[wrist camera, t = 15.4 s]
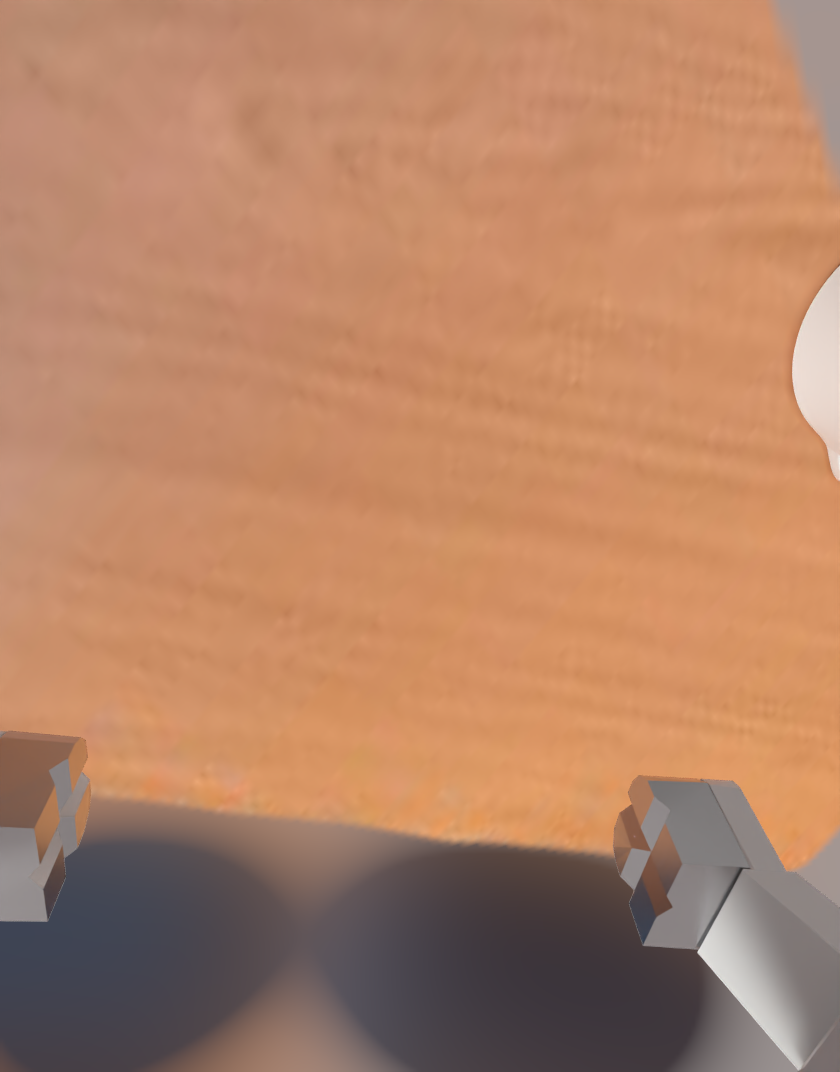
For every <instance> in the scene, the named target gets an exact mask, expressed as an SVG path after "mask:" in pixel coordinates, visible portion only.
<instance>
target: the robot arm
mask: <svg viewBox="0 0 840 1072" xmlns="http://www.w3.org/2000/svg"><path fill="white" fill-rule="evenodd" d="M792 377H793V387H794V392H795V396H796V400H797V403H798V405H799V408H800V410H801V412H802V414H803V416H804V417H805V419H806V420H807V422H808V423H809V424H810V426H811V427H812V428H813V429H814V430H815V431H816V432H817V434H818V435H819V436H820V437H821V438H822V439H823V441H824V442H825V444H826V446H827V449H828V455H829V460H830V465H831V469H832V472H833V474H834V476H835V478H836V479H837V480H838V481H840V266H839V267H838V268H837V269H836V270H835V271H834V272H833V273H832V275H831V276H830V277H829V278H828V279H827V281H826V282H825V284H824V285H823V286H822V288H821V289H820V291H819V292H818V294H817V295H816V297H815V298H814V300H813V302H812V304H811V305H810V307H809V309H808V311H807V313H806V316H805V318H804V320H803V323H802V325H801V328H800V331H799V334H798V337H797V341H796V345H795V349H794V356H793V366H792ZM87 758H88V753H87V746H86V740H85V739H83V738H81V737H71V736H60V735H49V734H39V733H28V732H17V731H0V921H41V922H47V921H48V919H49V917H50V914H51V912H52V910H53V907H54V905H55V902H56V900H57V897H58V895H59V893H60V890H61V888H62V885H63V883H64V880H65V878H66V872H65V864H64V863H65V862H64V858H65V857H67V856H68V855H69V854H71V853H72V852H73V851H75V850H76V849H77V848H78V845H79V843H80V841H81V838H82V835H83V833H84V830H85V826H86V822H87V817H88V813H89V809H90V797H91V787H90V779H89V778H88V777H87V776H86V775H85V774H84V773H83V772H82V770H83V767H84V765H85V763H86V760H87ZM628 794H629V797H630V800H631V803H632V805H630V806H629V807H627V808H626V809H625V810H623V811H622V812H620V813H619V816H618V819H617V822H616V825H615V828H614V842H613V848H614V855H615V861H616V864H617V868H618V871H619V874H620V877H621V878H622V879H624V881H625V882H626V883H628V884H629V885H630V886H631V887H632V888H633V889H634V892H633V895H632V898H631V900H630V902H629V905H630V908H631V911H632V914H633V917H634V920H635V923H636V926H637V929H638V932H639V935H640V938H641V941H642V944H643V946H656V947H670V948H685V949H698V954H699V955H700V956H701V957H702V958H703V959H704V961H705V962H706V963H707V964H708V965H709V966H710V967H711V969H712V970H713V971H714V972H715V974H716V975H717V976H718V977H719V978H720V979H721V980H722V982H723V983H724V984H725V985H726V986H727V988H728V989H729V990H730V991H731V992H732V993H733V995H734V996H735V997H736V998H737V999H738V1000H739V1001H740V1003H741V1004H742V1005H743V1006H744V1007H745V1009H746V1010H747V1011H748V1012H749V1013H750V1014H751V1016H752V1017H753V1018H754V1019H755V1020H756V1021H757V1023H758V1024H759V1025H760V1026H761V1027H762V1028H763V1030H764V1031H765V1032H766V1033H767V1034H768V1035H769V1037H770V1038H771V1039H772V1040H773V1041H774V1042H775V1044H776V1045H777V1046H778V1047H779V1048H780V1049H781V1051H782V1052H783V1053H784V1054H785V1055H786V1056H787V1057H788V1059H789V1060H790V1061H791V1062H792V1063H793V1065H795V1067H796V1068H797V1069H798V1070H799V1071H798V1072H840V907H838V906H837V905H836V904H835V903H834V902H832V901H831V900H830V899H829V898H827V897H826V896H825V895H824V894H822V893H821V892H820V891H819V890H817V889H816V888H815V887H814V886H812V885H811V884H810V883H809V882H807V881H806V880H805V879H804V878H802V877H801V876H800V875H799V874H797V873H796V872H788V871H786V870H785V868H784V866H783V864H782V862H781V861H780V859H779V857H778V855H777V853H776V852H775V850H774V848H773V846H772V844H771V843H770V841H769V839H768V837H767V835H766V834H765V832H764V830H763V828H762V826H761V825H760V823H759V821H758V819H757V817H756V816H755V814H754V812H753V810H752V808H751V807H750V805H749V803H748V801H747V799H746V798H745V796H744V794H743V792H742V790H741V789H740V787H739V786H738V785H737V784H736V783H734V782H733V781H727V780H710V779H700V780H699V779H694V778H677V777H660V776H642V775H639V776H638V777H637V778H635V779H634V780H633V782H632V784H631V786H630V789H629V791H628Z"/></svg>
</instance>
